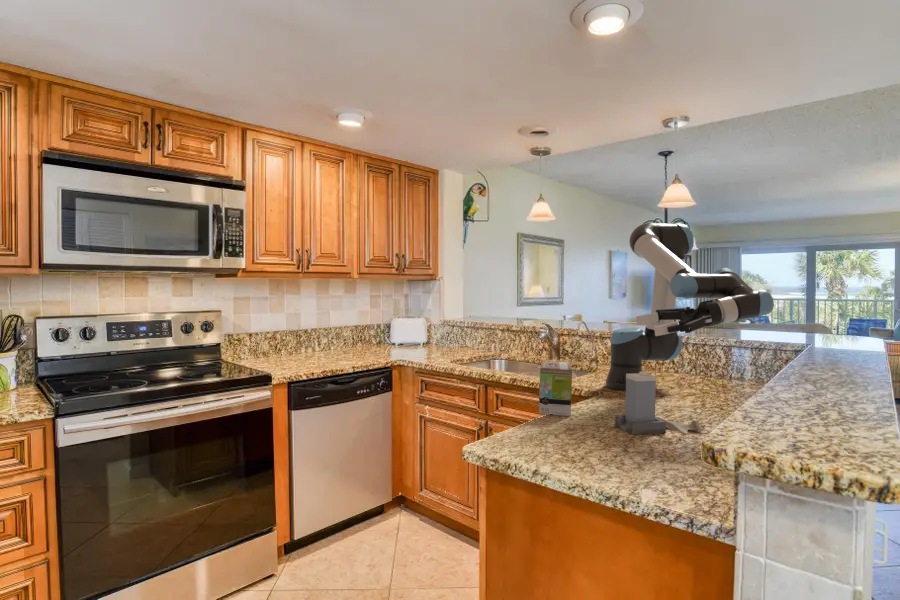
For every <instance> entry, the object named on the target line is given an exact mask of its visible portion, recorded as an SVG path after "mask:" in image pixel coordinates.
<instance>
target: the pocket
mask: <svg viewBox="0 0 900 600" xmlns="http://www.w3.org/2000/svg"><path fill="white" fill-rule="evenodd" d="M661 419H662V418H661ZM661 419H658V418H656V416H655V421H652V422H632V421H630V420H628V421H627V424H626V423H625V414H615V415H614V421H615V422H614V426H615V427H617V426H618V427H617V428H619V427H620V429H621V430H623V431H625V432H627V433H629V434H630V433H631V434H630V435H632V434H635V435H648V434H649V435H650V434H651V433H653V434H665V433H666V432H667V428H666V422H665V421H663V420H661ZM651 435H652V434H651Z"/></svg>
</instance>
